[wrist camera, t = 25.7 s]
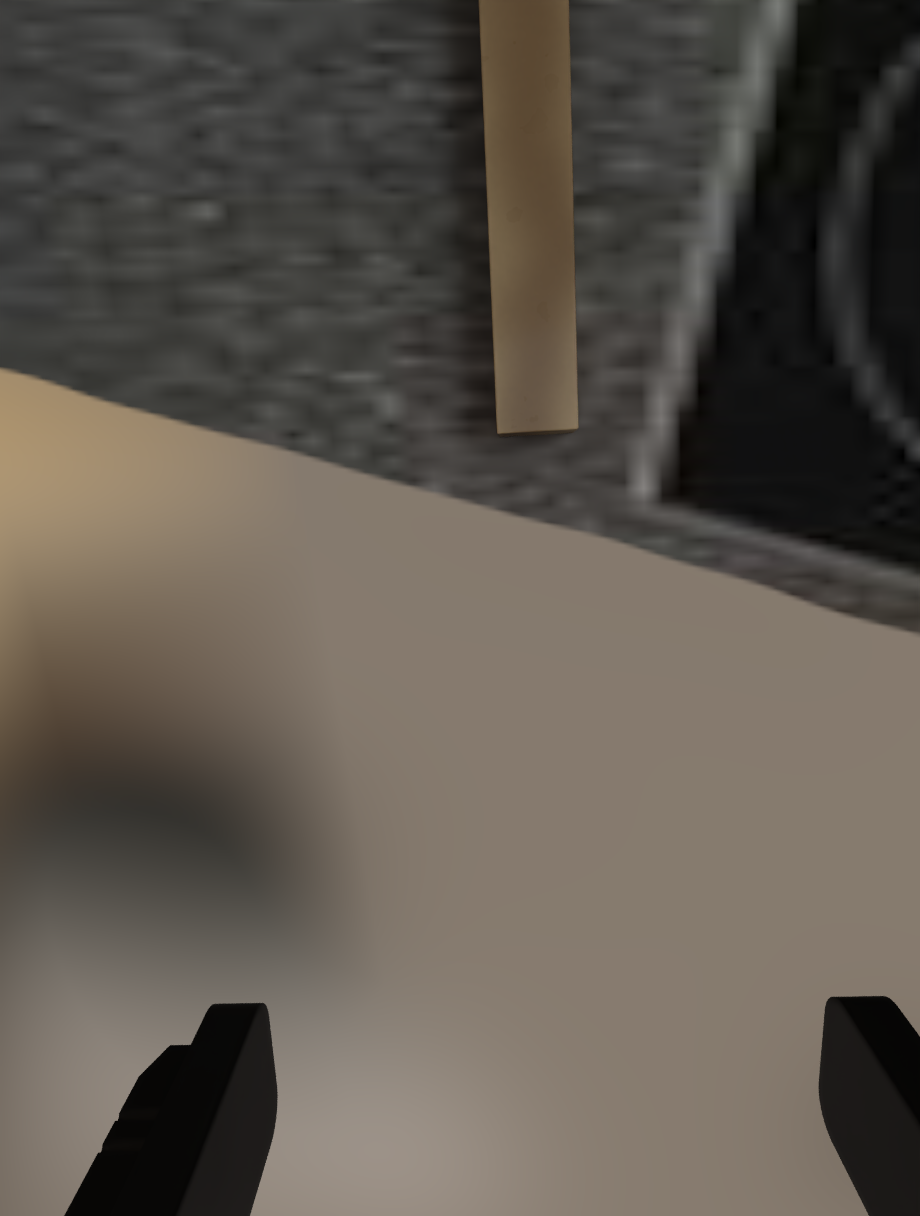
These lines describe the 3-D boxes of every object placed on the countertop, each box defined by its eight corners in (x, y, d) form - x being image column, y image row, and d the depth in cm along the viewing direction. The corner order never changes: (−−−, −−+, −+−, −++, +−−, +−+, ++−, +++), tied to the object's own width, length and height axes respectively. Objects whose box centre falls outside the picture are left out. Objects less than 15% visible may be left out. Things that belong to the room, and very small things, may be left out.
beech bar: (499, 437, 30) (496, 434, 27) (474, -165, 26) (468, -244, 23) (573, 432, 30) (578, 429, 27) (558, -176, 26) (563, -258, 23)
